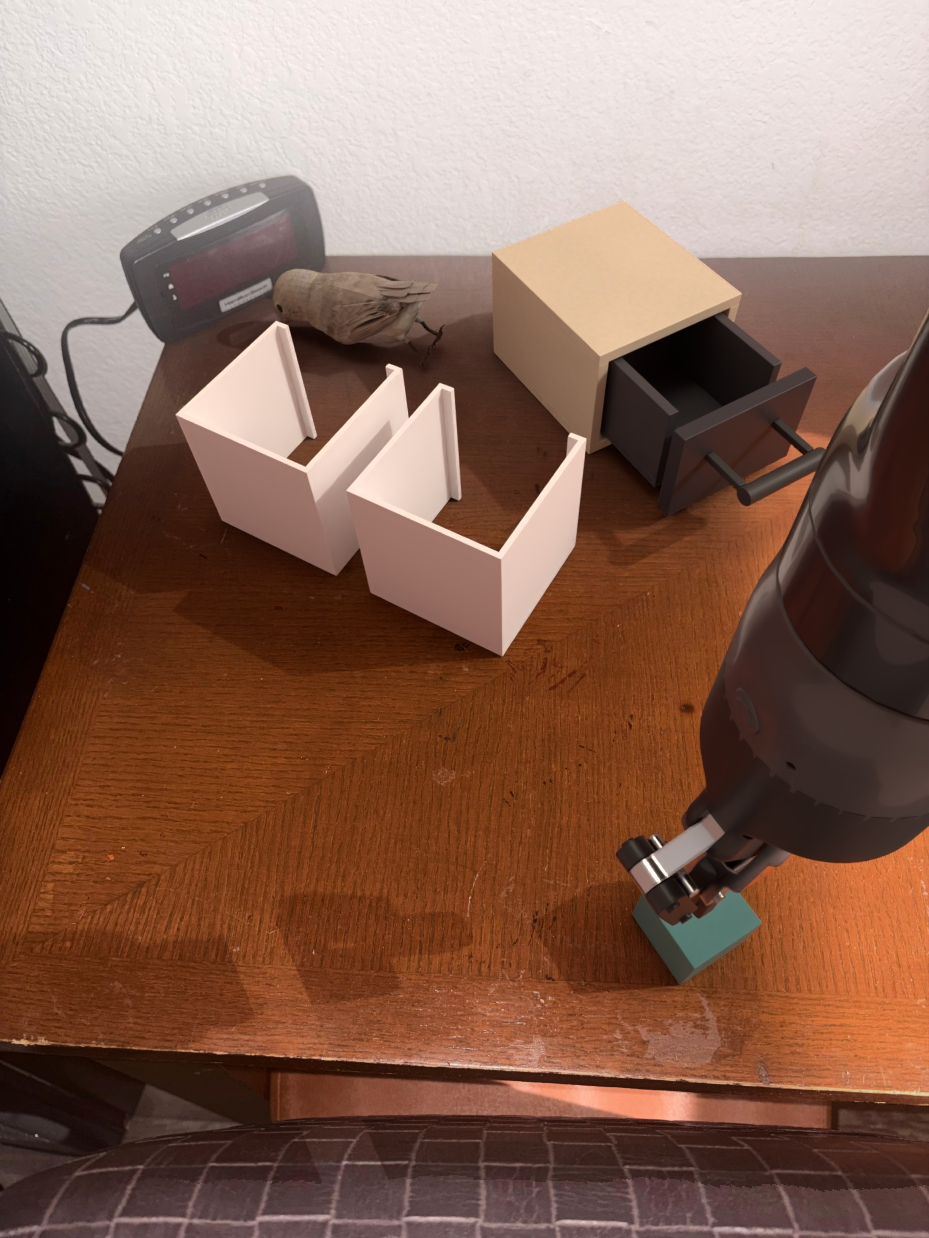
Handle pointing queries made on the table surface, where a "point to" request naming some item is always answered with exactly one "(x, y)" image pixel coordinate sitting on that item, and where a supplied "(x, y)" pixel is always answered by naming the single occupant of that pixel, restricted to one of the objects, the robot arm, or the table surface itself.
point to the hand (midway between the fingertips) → (730, 867)
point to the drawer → (707, 414)
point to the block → (698, 934)
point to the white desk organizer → (374, 493)
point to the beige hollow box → (594, 306)
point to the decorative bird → (354, 305)
